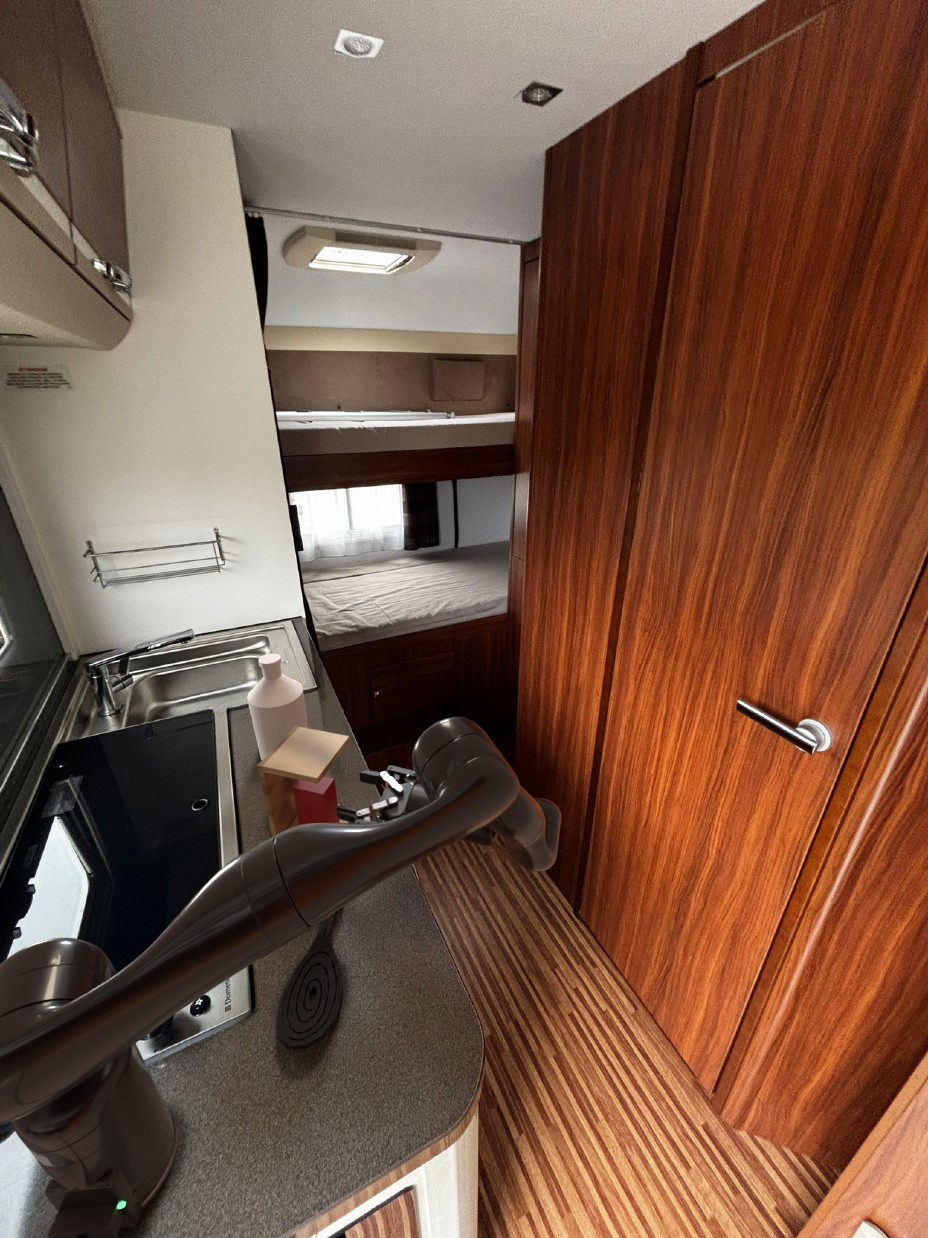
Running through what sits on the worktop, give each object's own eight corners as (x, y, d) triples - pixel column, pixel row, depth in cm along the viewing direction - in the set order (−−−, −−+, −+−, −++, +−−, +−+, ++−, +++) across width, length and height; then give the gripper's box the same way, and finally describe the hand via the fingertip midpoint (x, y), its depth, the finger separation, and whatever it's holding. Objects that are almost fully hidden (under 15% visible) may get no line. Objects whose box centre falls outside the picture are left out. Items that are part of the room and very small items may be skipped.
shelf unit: (331, 875, 87) (317, 778, 78) (277, 860, 90) (257, 765, 81) (359, 827, 97) (349, 736, 88) (309, 815, 99) (294, 725, 90)
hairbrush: (360, 871, 85) (329, 1041, 61) (362, 887, 86) (331, 1058, 63) (312, 873, 84) (261, 1043, 61) (314, 888, 86) (266, 1061, 62)
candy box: (311, 813, 94) (304, 772, 89) (339, 819, 92) (334, 778, 88) (299, 829, 90) (292, 787, 86) (329, 836, 89) (323, 794, 85)
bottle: (257, 741, 120) (238, 651, 110) (307, 729, 125) (294, 642, 114) (261, 772, 110) (241, 677, 100) (315, 758, 115) (301, 665, 105)
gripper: (450, 765, 86) (365, 749, 90) (423, 828, 74) (326, 806, 78) (450, 798, 90) (368, 781, 93) (424, 863, 77) (331, 840, 81)
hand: (349, 792), depth 86 cm, fingers open, 8 cm apart
